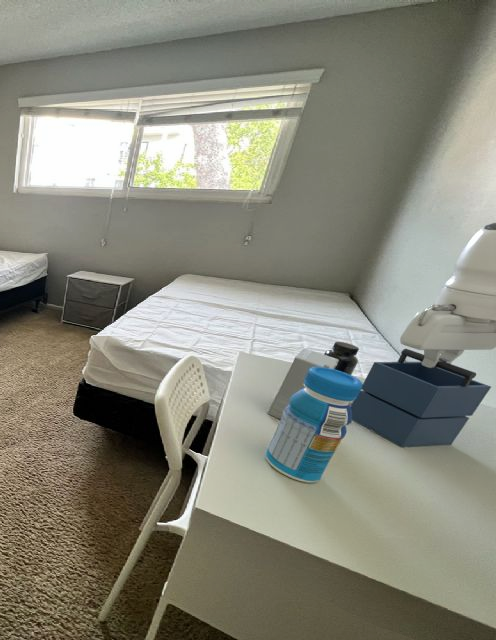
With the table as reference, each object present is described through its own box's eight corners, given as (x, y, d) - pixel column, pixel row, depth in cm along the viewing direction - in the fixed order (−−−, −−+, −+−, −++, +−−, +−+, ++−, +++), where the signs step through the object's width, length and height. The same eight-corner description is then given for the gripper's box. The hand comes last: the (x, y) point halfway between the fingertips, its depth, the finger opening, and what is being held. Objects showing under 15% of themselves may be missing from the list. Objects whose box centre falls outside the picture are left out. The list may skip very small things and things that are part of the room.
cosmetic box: (275, 403, 87) (300, 346, 81) (312, 417, 82) (341, 358, 76) (265, 414, 82) (291, 354, 76) (304, 430, 77) (334, 368, 71)
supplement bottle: (306, 378, 101) (323, 340, 97) (322, 375, 103) (339, 339, 99) (334, 390, 95) (354, 351, 91) (350, 388, 97) (370, 349, 93)
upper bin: (406, 387, 83) (429, 348, 79) (472, 415, 73) (501, 372, 69) (360, 388, 81) (381, 348, 77) (420, 417, 71) (448, 373, 67)
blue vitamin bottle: (258, 463, 66) (299, 371, 59) (269, 445, 71) (308, 359, 64) (316, 493, 60) (369, 394, 53) (324, 470, 65) (373, 378, 58)
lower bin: (390, 414, 86) (405, 389, 83) (451, 444, 76) (469, 417, 73) (345, 415, 84) (358, 390, 81) (401, 447, 74) (418, 419, 71)
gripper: (450, 309, 64) (413, 374, 69) (534, 311, 67) (492, 373, 72) (408, 299, 70) (376, 360, 75) (486, 300, 73) (451, 359, 78)
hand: (434, 366), depth 74 cm, fingers closed on upper bin
